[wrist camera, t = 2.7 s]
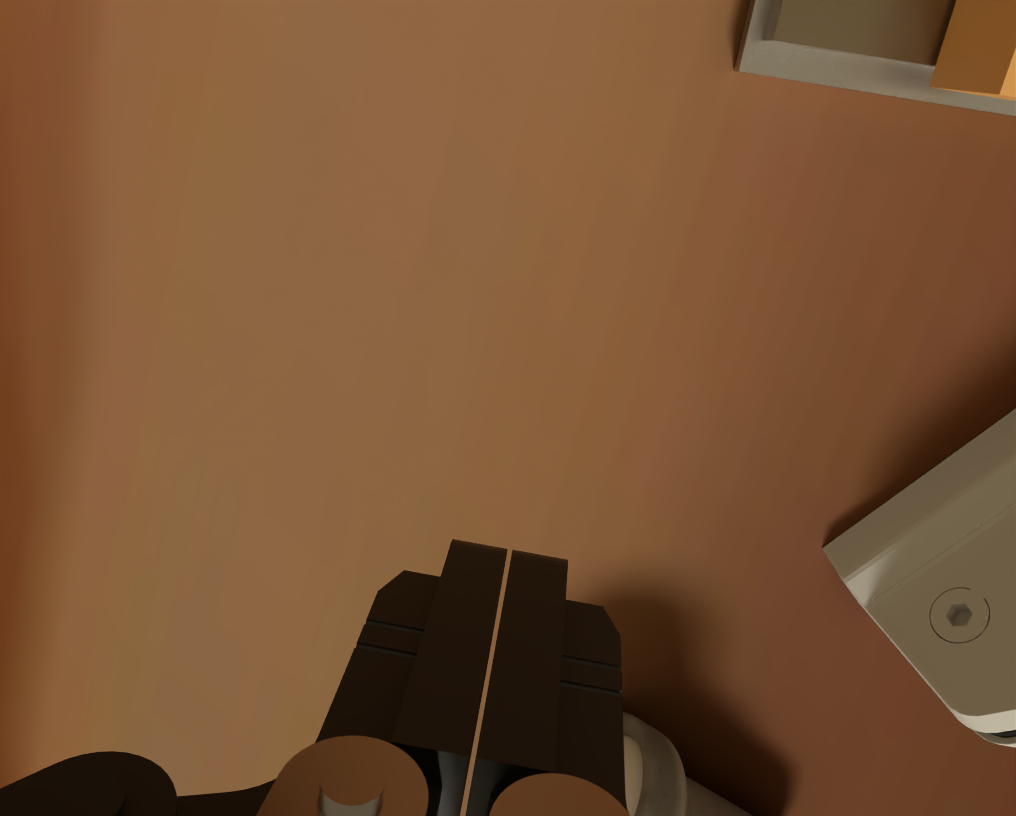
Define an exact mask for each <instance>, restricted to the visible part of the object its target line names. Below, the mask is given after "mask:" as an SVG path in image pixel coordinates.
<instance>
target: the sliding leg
mask: <svg viewBox="0 0 1016 816" xmlns="http://www.w3.org/2000/svg"><path fill="white" fill-rule="evenodd" d="M929 87H932V88H938V89H944V90H950V91H956V92H963V93H969V94H975V95H981V96H987V97H994V98H1000V99H1006V100H1013V101H1016V0H956V3H955V6H954V10H953V13H952V16H951V19H950V22H949V25H948V28H947V31H946V35H945V38H944V41H943V44H942V47H941V50H940V53H939V56H938V60H937V63H936V66H935V69H934V72H933V75H932V78H931V81H930V85H929Z"/></svg>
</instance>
